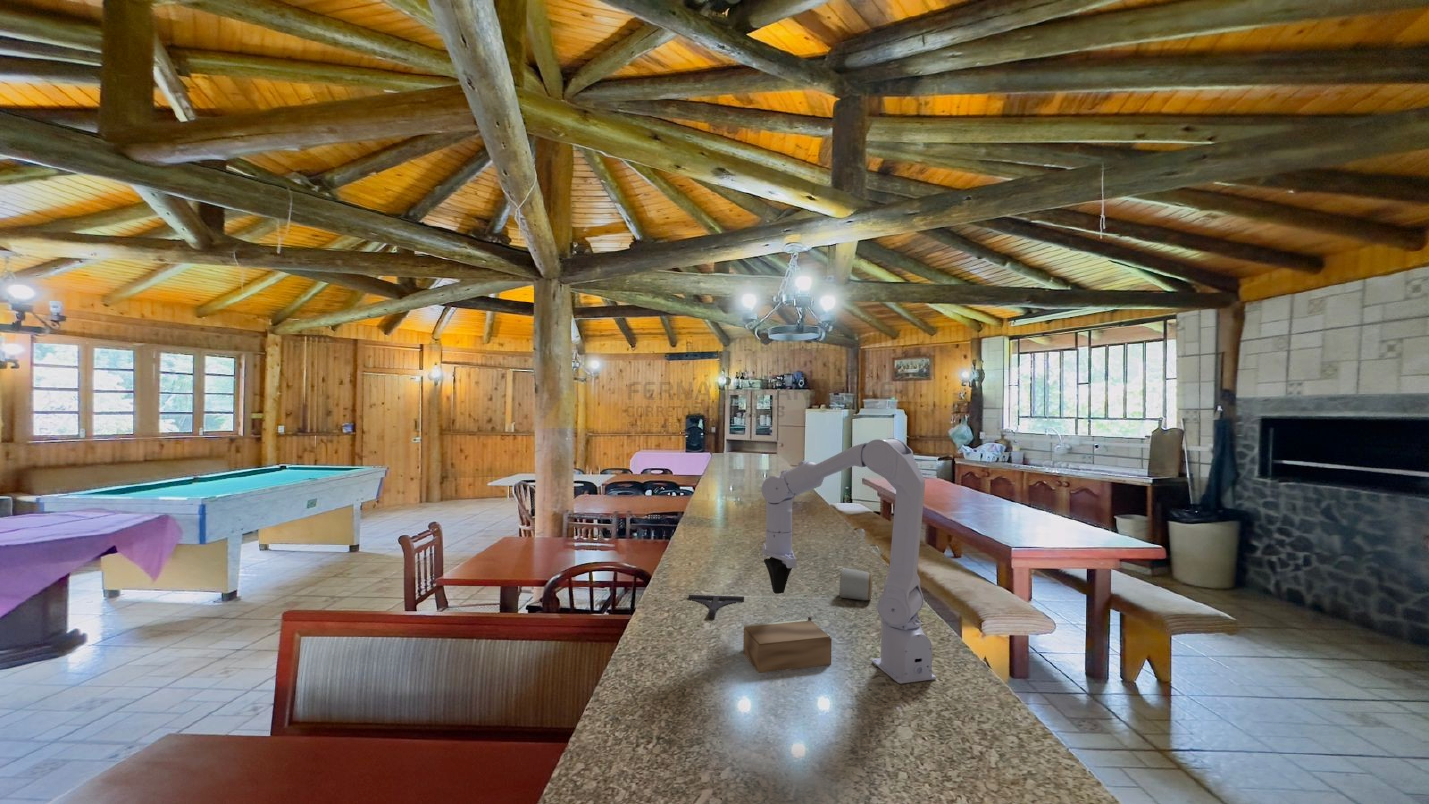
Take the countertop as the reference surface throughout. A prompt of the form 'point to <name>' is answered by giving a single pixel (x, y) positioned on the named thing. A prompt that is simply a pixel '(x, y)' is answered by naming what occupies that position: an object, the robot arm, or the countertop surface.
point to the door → (774, 623)
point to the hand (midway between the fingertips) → (778, 592)
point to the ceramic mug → (855, 584)
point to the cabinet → (786, 646)
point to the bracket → (715, 602)
